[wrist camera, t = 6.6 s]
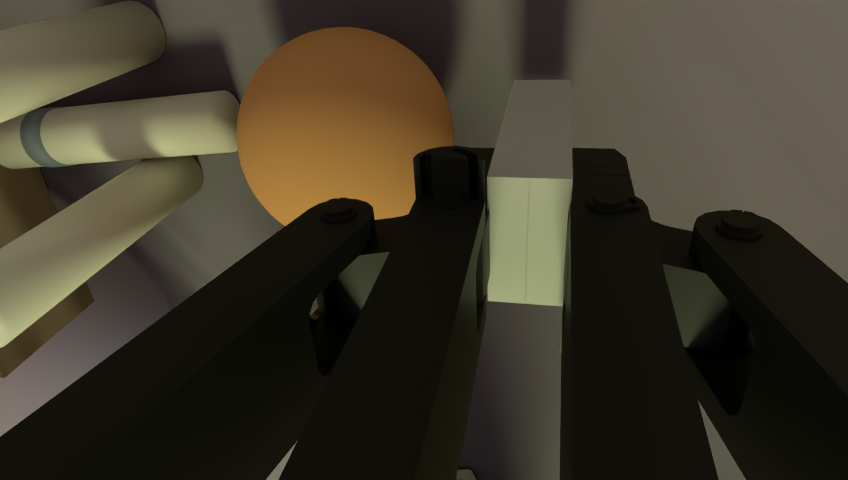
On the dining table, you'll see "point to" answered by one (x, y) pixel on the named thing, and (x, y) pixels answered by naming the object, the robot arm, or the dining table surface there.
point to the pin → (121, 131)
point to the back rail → (6, 221)
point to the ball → (339, 123)
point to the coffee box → (465, 475)
